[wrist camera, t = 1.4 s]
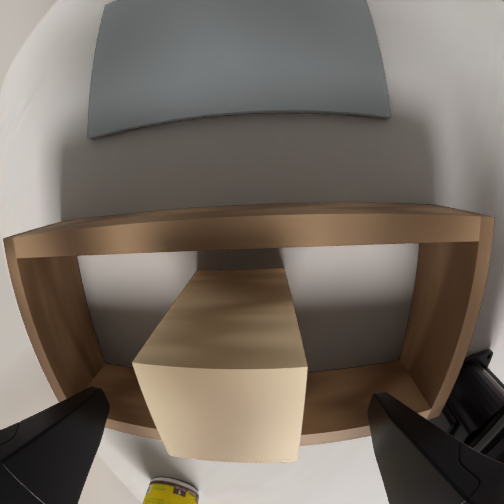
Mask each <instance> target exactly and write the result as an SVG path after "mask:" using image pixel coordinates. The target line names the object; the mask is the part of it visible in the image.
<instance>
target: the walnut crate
mask: <svg viewBox="0 0 504 504" xmlns="http://www.w3.org/2000/svg"><path fill="white" fill-rule="evenodd" d="M493 230H494V217H491V216H487V215H483V214H478V213H474V212H469V211H464V210H459V209H454V208H449V207H444V206H439V205H428V204H402V203H284V204H256V205H234V206H217V207H201V208H187V209H174V210H162V211H151V212H140V213H130V214H121V215H111V216H103V217H94V218H86V219H79V220H71V221H64V222H59V223H55V224H51V225H47V226H44V227H40V228H37V229H33V230H30V231H26V232H23V233H20V234H16V235H13V236H10V237H7V238H3V241H4V247H5V253H6V258H7V263H8V268H9V273H10V277H11V281H12V285H13V289H14V293H15V296H16V300H17V303H18V307H19V310H20V313H21V316H22V319H23V322H24V325H25V328H26V331H27V333H28V336H29V339H30V341H31V344H32V346H33V349H34V351H35V354H36V356H37V358H38V361H39V363H40V365H41V367H42V370H43V372H44V374H45V376H46V378H47V380H48V382H49V384H50V386H51V388H52V390H53V392H54V394H55V396H56V397H57V399H58V401H59V402H61V401H63V400H65V399H67V398H69V397H71V396H73V395H75V394H77V393H79V392H81V391H83V390H85V389H87V388H88V387H91V386H95V387H99V388H102V389H103V391H104V393H105V395H106V397H107V400H108V402H109V404H110V411H109V414H108V418H107V421H106V425H105V428H109V429H113V430H116V431H120V432H124V433H129V434H133V435H138V436H142V437H147V438H153V439H158V440H162V439H161V437H160V435H159V432H158V430H157V428H156V425H155V423H154V421H153V418H152V416H151V414H150V411H149V409H148V406H147V404H146V401H145V398H144V396H143V393H142V390H141V388H140V385H139V382H138V379H137V376H136V373H135V370H134V368H131V367H124V366H117V365H111V364H105V361H104V358H103V355H102V352H101V349H100V346H99V343H98V340H97V337H96V334H95V331H94V327H93V324H92V321H91V317H90V313H89V310H88V306H87V302H86V298H85V294H84V290H83V285H82V281H81V276H80V271H79V266H78V260H77V256H80V255H103V254H127V253H152V252H177V251H203V250H229V249H256V248H284V247H313V246H342V245H372V244H403V243H420V244H419V255H418V265H417V273H416V281H415V288H414V294H413V300H412V306H411V311H410V317H409V322H408V327H407V331H406V336H405V340H404V344H403V348H402V352H401V356H400V360H397V361H392V362H387V363H381V364H375V365H368V366H362V367H354V368H347V369H338V370H329V371H319V372H307V381H306V392H305V403H304V412H303V421H302V430H301V438H300V445H299V446H305V445H315V444H324V443H331V442H338V441H345V440H351V439H356V438H361V437H366V436H371V432H370V426H369V421H368V416H367V411H368V407H369V404H370V400H371V397H372V395H373V393H376V392H381V391H386V392H388V393H389V394H390V395H392V396H393V397H395V398H396V399H398V400H399V401H401V402H402V403H403V404H405V405H406V406H408V407H409V408H411V409H412V410H414V411H415V412H417V413H418V414H420V415H421V416H423V417H424V418H426V419H427V420H429V419H432V418H435V417H438V416H439V415H440V413H441V411H442V409H443V407H444V405H445V403H446V401H447V399H448V397H449V395H450V393H451V391H452V389H453V386H454V384H455V382H456V379H457V377H458V375H459V372H460V370H461V367H462V364H463V362H464V359H465V357H466V354H467V351H468V348H469V345H470V342H471V339H472V336H473V333H474V329H475V326H476V323H477V319H478V315H479V312H480V308H481V304H482V299H483V295H484V291H485V286H486V281H487V275H488V270H489V263H490V257H491V249H492V241H493Z"/></svg>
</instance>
